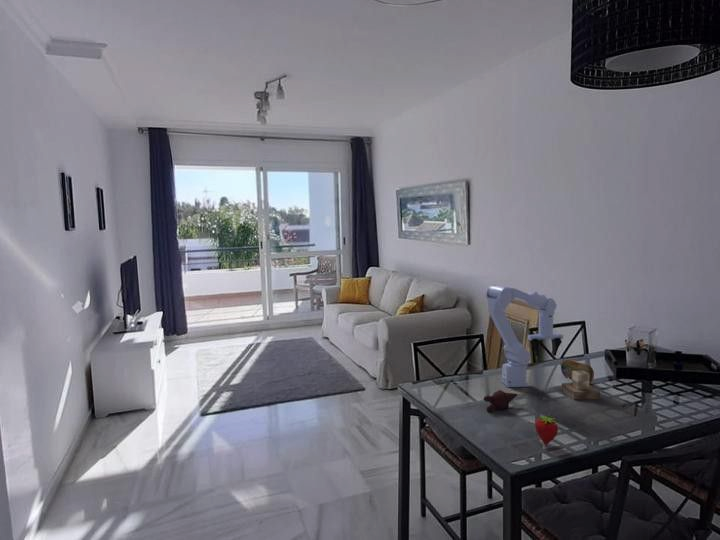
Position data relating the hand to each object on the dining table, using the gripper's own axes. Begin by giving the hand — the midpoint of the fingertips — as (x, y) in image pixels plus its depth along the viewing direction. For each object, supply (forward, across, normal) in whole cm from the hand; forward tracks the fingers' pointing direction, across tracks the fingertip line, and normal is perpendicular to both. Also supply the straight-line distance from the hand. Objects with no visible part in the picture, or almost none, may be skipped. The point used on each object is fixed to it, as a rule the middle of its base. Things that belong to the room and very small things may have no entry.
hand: (545, 355), depth 202 cm
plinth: (+10, +6, -19) cm, 22 cm away
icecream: (+10, -30, -30) cm, 43 cm away
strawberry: (+10, -25, -58) cm, 64 cm away
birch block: (+7, +6, -19) cm, 21 cm away
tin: (+11, +13, -3) cm, 17 cm away
